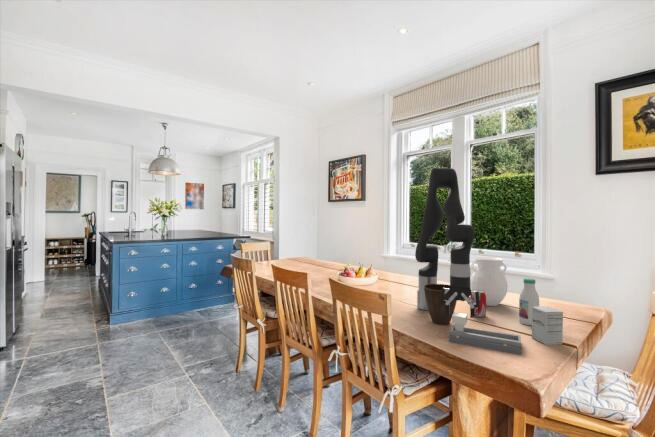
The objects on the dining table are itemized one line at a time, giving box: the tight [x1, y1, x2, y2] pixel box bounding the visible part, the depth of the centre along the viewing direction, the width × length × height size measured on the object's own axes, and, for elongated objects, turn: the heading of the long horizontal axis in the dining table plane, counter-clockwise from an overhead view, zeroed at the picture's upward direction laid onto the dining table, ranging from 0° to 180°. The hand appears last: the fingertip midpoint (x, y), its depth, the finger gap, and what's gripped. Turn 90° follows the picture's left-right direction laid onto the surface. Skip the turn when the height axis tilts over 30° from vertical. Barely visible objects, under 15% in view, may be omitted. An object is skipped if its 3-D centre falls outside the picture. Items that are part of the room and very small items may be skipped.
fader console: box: [448, 324, 522, 355], centre depth 126 cm, size 24×12×4 cm, turn 61°
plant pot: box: [424, 283, 457, 326], centre depth 149 cm, size 15×15×16 cm
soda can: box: [469, 290, 487, 318], centre depth 159 cm, size 7×7×12 cm
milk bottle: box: [518, 277, 540, 327], centre depth 147 cm, size 8×8×20 cm
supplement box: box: [531, 305, 564, 346], centre depth 127 cm, size 7×7×13 cm
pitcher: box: [470, 256, 509, 307], centre depth 180 cm, size 19×18×25 cm
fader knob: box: [451, 311, 468, 332], centre depth 130 cm, size 5×5×7 cm
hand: (460, 315), depth 130 cm, fingers open, 8 cm apart
